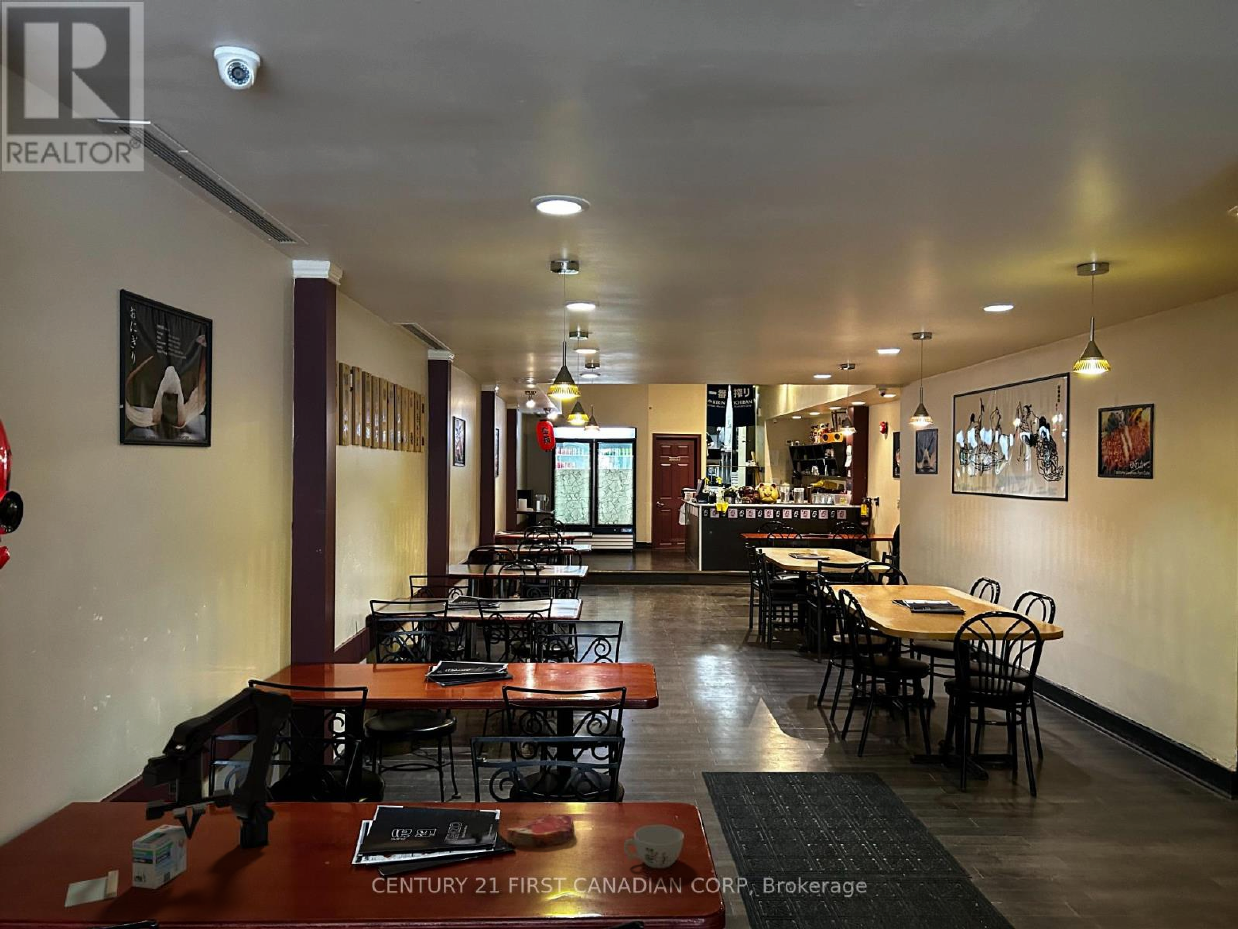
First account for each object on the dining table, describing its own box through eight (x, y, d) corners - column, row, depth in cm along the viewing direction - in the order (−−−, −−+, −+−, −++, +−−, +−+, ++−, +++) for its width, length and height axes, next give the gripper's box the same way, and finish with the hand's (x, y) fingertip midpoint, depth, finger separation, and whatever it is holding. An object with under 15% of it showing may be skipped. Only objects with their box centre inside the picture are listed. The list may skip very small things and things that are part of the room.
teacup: (679, 853, 220) (679, 822, 220) (687, 876, 208) (687, 843, 208) (621, 855, 219) (622, 824, 219) (626, 878, 207) (626, 845, 207)
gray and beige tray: (118, 876, 206) (118, 870, 206) (116, 898, 196) (116, 891, 196) (69, 885, 202) (69, 879, 202) (64, 908, 191) (64, 902, 191)
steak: (579, 823, 241) (579, 803, 241) (599, 855, 221) (599, 834, 221) (491, 833, 233) (491, 813, 233) (503, 868, 213) (503, 846, 213)
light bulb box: (155, 890, 200) (155, 844, 200) (131, 888, 201) (130, 842, 201) (187, 869, 210) (187, 825, 210) (164, 867, 211) (163, 823, 212)
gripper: (228, 759, 220) (228, 819, 220) (146, 771, 211) (146, 834, 211) (232, 772, 210) (232, 835, 210) (145, 786, 201) (145, 852, 201)
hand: (189, 839), depth 208 cm, fingers closed
